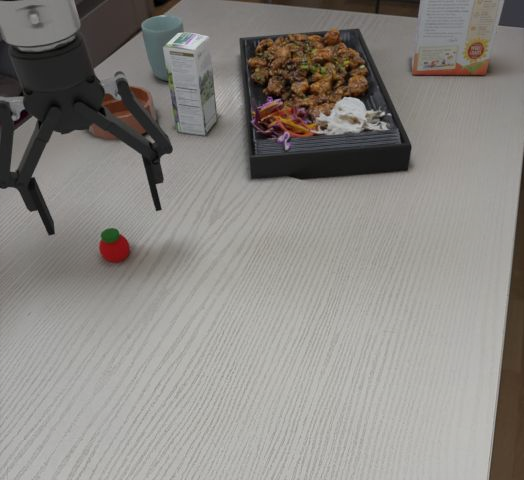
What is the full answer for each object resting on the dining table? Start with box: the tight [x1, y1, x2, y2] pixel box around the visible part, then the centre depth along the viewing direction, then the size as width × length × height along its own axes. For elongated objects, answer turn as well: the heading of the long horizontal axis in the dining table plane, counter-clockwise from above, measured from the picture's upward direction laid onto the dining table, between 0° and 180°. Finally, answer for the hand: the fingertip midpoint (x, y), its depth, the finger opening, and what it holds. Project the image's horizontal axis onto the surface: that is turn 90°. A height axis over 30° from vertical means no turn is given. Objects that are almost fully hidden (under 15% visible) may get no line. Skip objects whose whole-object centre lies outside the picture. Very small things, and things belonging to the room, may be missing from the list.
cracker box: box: [410, 0, 505, 76], centre depth 98 cm, size 14×6×21 cm, turn 82°
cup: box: [140, 14, 185, 82], centre depth 107 cm, size 8×8×10 cm
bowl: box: [88, 84, 157, 140], centre depth 97 cm, size 12×12×4 cm
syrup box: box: [163, 32, 218, 136], centre depth 92 cm, size 6×6×14 cm
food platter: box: [239, 27, 413, 180], centre depth 95 cm, size 45×25×10 cm, turn 4°
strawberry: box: [98, 227, 131, 263], centre depth 73 cm, size 4×4×4 cm
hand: (105, 216), depth 69 cm, fingers open, 13 cm apart
